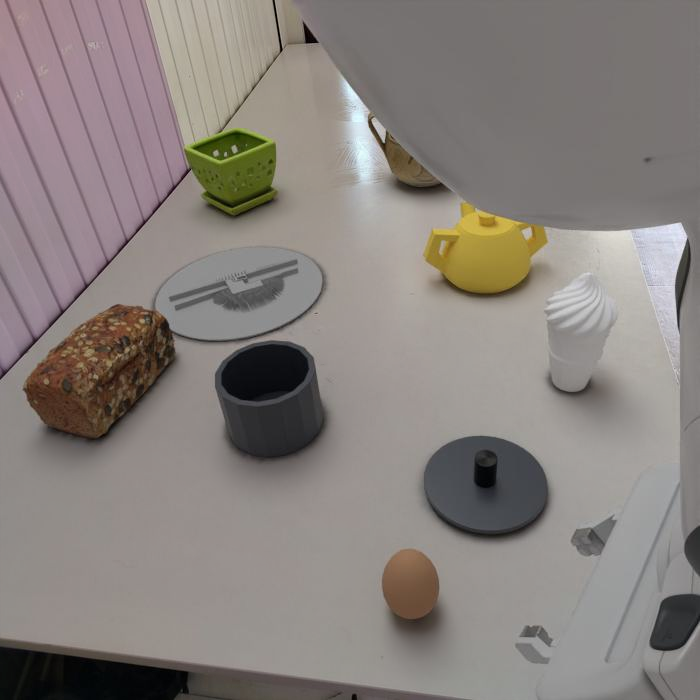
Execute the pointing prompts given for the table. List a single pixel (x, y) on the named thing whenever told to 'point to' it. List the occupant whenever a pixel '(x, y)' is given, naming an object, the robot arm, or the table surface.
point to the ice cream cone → (578, 330)
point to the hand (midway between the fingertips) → (553, 589)
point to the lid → (485, 484)
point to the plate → (239, 293)
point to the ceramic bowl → (403, 161)
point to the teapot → (484, 251)
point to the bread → (100, 370)
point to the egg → (410, 584)
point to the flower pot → (234, 169)
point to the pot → (270, 397)
